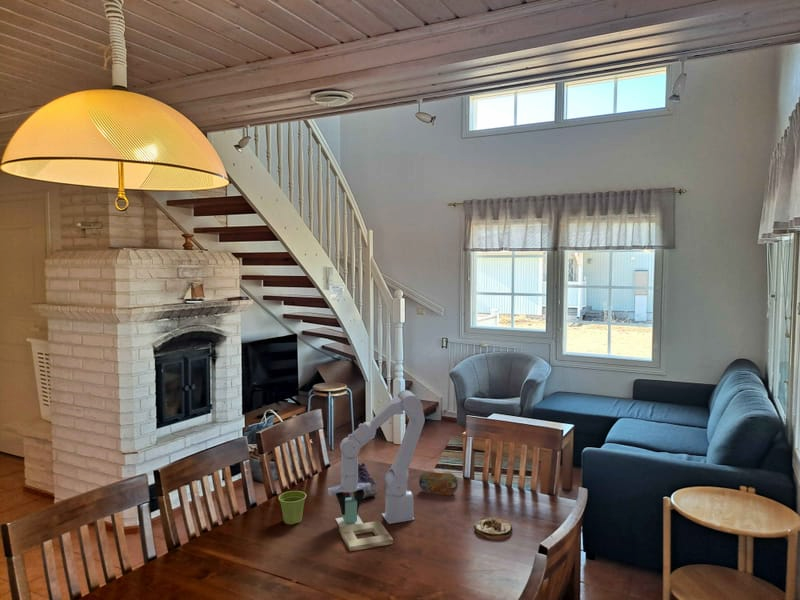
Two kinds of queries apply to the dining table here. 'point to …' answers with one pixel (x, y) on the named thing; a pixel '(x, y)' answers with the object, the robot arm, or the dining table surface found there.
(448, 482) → the tin
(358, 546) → the board
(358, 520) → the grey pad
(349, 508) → the teal block
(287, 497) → the plant pot
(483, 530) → the beige round shallow dish
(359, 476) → the geode
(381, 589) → the dining table surface
